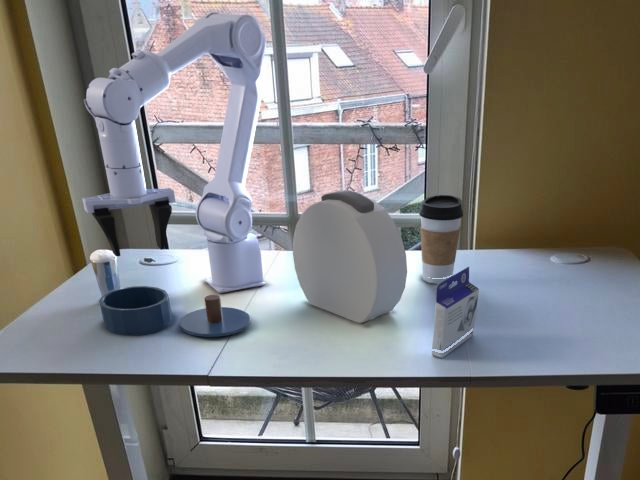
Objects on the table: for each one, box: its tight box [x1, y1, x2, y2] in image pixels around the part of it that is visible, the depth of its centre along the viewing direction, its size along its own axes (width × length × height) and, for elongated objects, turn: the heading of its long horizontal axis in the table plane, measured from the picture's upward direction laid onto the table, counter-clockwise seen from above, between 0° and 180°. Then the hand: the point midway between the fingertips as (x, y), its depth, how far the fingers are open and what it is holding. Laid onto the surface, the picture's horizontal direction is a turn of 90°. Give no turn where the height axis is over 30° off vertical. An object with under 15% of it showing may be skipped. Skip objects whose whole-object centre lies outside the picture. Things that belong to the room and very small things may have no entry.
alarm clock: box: [292, 189, 408, 324], centre depth 128 cm, size 21×8×20 cm, turn 47°
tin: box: [98, 285, 173, 336], centre depth 126 cm, size 11×11×4 cm
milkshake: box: [89, 249, 121, 297], centre depth 132 cm, size 4×5×10 cm
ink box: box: [431, 266, 480, 359], centre depth 118 cm, size 12×2×12 cm, turn 148°
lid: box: [178, 294, 252, 338], centre depth 125 cm, size 12×12×5 cm
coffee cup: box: [418, 194, 464, 285], centre depth 142 cm, size 8×8×15 cm
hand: (139, 251), depth 125 cm, fingers open, 7 cm apart
